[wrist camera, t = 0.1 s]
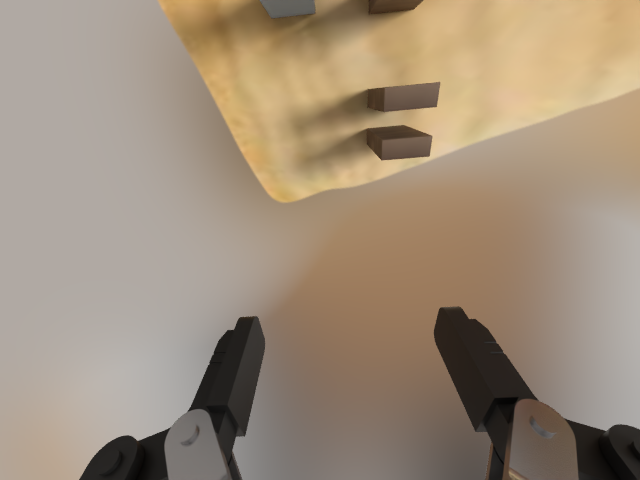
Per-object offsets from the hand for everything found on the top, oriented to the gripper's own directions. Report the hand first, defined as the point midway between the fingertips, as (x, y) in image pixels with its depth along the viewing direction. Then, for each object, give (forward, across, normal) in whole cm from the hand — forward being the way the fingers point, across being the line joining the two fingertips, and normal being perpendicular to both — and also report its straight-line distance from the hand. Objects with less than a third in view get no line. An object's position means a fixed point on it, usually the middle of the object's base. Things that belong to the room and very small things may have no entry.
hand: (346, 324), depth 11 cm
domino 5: (+29, -8, -3) cm, 30 cm away
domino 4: (+29, -8, -8) cm, 31 cm away
